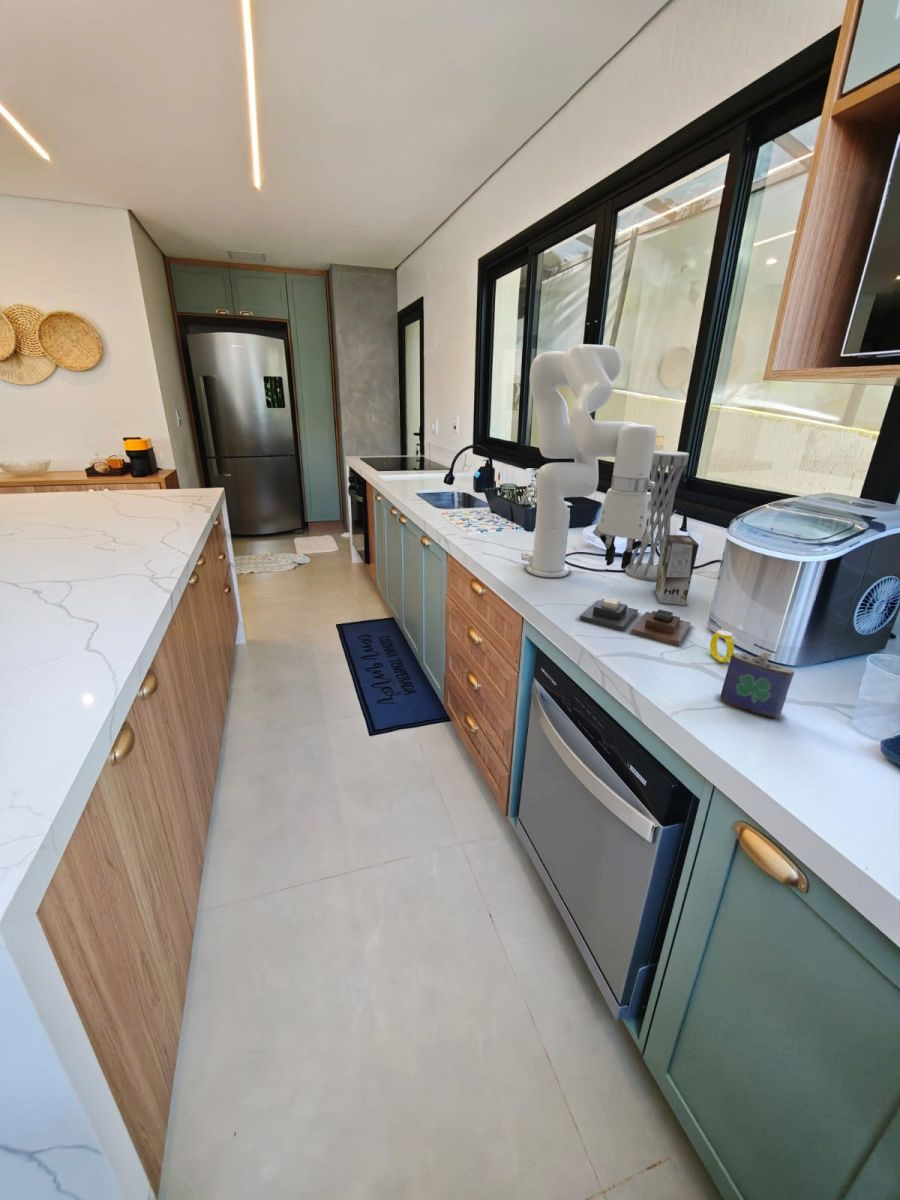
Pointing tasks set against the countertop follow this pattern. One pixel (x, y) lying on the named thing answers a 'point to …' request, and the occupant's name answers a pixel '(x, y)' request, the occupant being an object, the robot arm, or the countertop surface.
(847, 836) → the countertop surface
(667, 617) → the dark key
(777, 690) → the flask
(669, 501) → the grey lattice tower
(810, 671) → the countertop surface
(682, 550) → the coffee box
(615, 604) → the ivory key
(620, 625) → the black key block
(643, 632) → the walnut key block
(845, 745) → the countertop surface
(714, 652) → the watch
